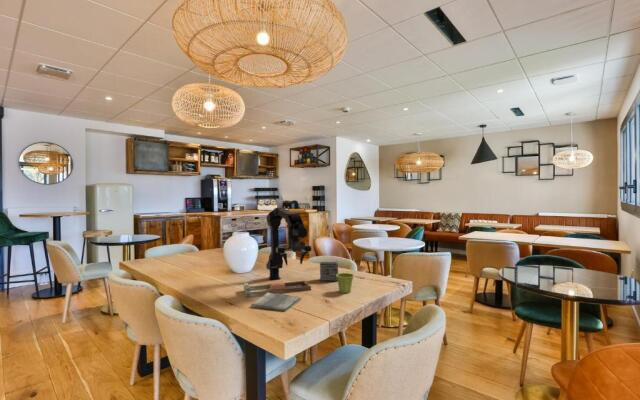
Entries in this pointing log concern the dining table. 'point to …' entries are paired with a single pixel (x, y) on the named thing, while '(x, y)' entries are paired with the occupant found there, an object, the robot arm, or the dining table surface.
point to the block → (277, 285)
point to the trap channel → (289, 288)
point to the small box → (328, 271)
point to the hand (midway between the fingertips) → (293, 264)
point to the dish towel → (276, 302)
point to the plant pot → (345, 282)
